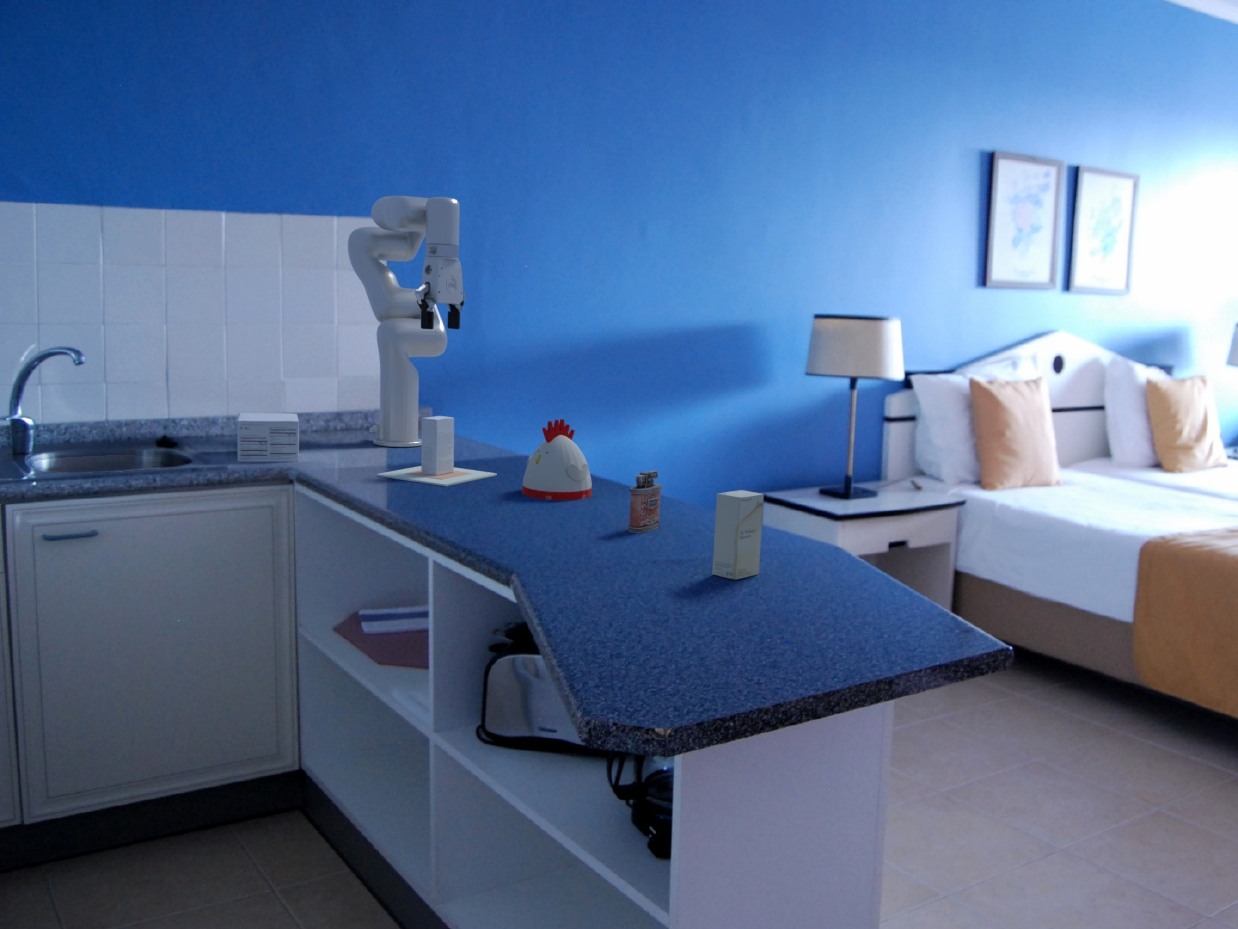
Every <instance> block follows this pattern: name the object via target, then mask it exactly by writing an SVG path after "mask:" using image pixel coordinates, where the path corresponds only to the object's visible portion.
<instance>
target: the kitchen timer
mask: <svg viewBox="0 0 1238 929" xmlns="http://www.w3.org/2000/svg"><path fill="white" fill-rule="evenodd" d="M570 425H571V424H568V423H566V424H565V419H562V418H560V420H559V419H554V423H553V421H552V420H548V421H547V428H546V427H541V428H542V429H541V430H542V433H543V436H544V440H543V441H542V442H541V443H540V444H539V445H538V446H537V447H536V449H534V451H533V453H532V455H529V457H528V458H527V461H526V469H525V472H524V474H523V478H522V487H521V493H522V494H523V495H524V496H526V497H529V498H534V499H541V500H550V501H575V500H583V499H587V498H590V497H591V496H592V490H593V488H592V487H593V484H592V478H591V474H590V469H589V463H588V462H587V460H586V457H585V455H584V454H583V452H582V450H581V449H580V448H579V446H578V445H577V443H575V442H574V441H573V438H574V435H575V431H576V430H575V429H570V428H571V426H570Z"/></svg>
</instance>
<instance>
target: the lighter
mask: <svg viewBox="0 0 1238 929" xmlns="http://www.w3.org/2000/svg"><path fill="white" fill-rule="evenodd" d="M656 479H659V472H658V470H651V471H640V473H639V474H637V475H635V482H636V483H635V484H636V485H634V486H631V487H629V493H630V504H629V506H630V507H629V523H628V524H629V525H628V526H627V532H629V533H633V534H641V533H642V534H643V533H646V532H651V531H654V530H656V529H658V528H660V527H661V526H660V524H661V521H660V506H661V490H663V489H662V488H663V487H662V486H663V485H662V484H661V483H655V480H656Z"/></svg>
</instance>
